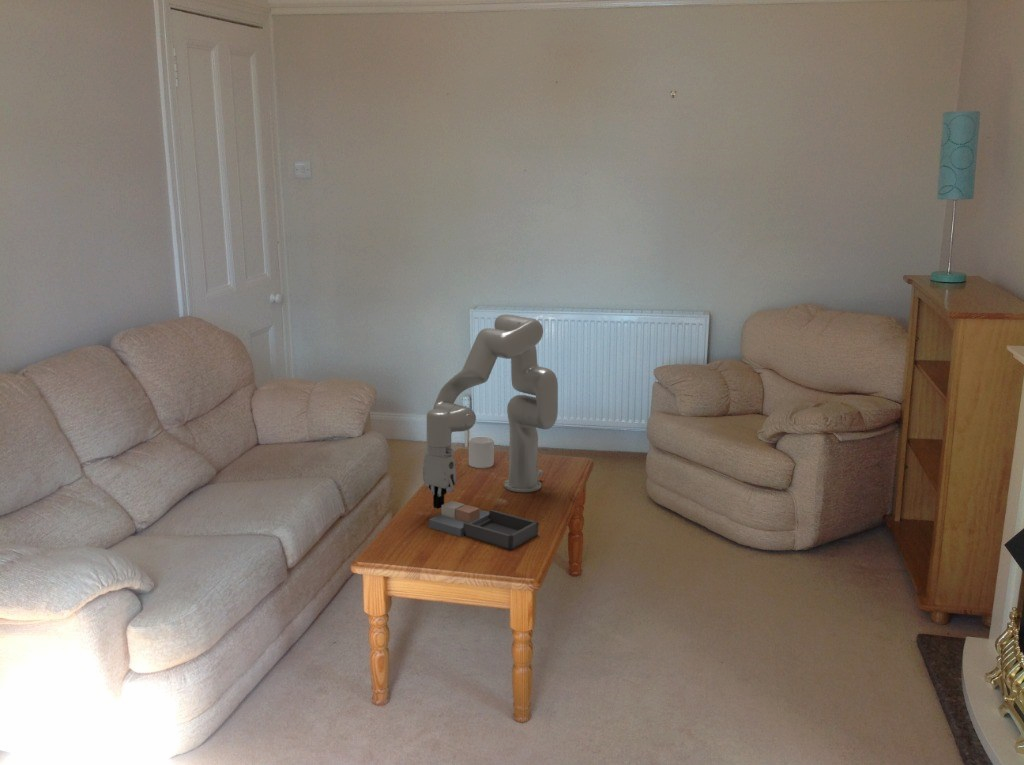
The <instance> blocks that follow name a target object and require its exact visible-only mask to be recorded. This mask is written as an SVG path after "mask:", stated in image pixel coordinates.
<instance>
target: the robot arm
mask: <svg viewBox="0 0 1024 765" xmlns="http://www.w3.org/2000/svg"><path fill="white" fill-rule="evenodd" d="M493 326H494V328H490V327H488V328H482V329H481V330H480V331H478V333H477V335H476V337H475V339H474V342H473V345H472V347H471V349H470V351H469V354H468V356H467V357H466V360H465V362H464V366H463V367H462V369H461V370H460V371H459V372H457V374H455V375H454V376H453V377H451V378H450V379H449V380H448V381H447V382H446V383H445V384H444V385H443V386H442V388H441V389H440V390H439V393H438V394H437V398H436V400H435V401H434V405H433V408H432V409H430V410H428V412H427V414H426V452H424V457H423V462H422V463H423V467H422V481H423V482H424V483H423V485H424V486H425V487H427V488H429V490H430V492H431V495H432V496H433V498H432V499H433V500H432V501H433V508H434V509H437V510H439V509H441V507H442V505H443V504H445V495H447V493H452V492H454V486H455V485H457V467H456V461H455V456H454V451H455V450H454V449H453V448H452V434H453V433H456V432H457V433H459V432H466V431H468V430H470V429H471V428H473V427H474V426H475V424H476V421H477V416H476V413H475V412H474V410H473V409H472V408H469V407H467V406H465V405H464V406H463V405H459V404H457V403H455V402H456V401H457V398H458V397H459V396H460V395H461V394H463V392H464V391H466V390H468V389H470V388H474V387H477V386H479V385H482V384H485V383H486V382H487V381H488V380H489V378H490V375H491V373H492V370H493V369H494V366H495V364H496V361H497V359H498V358H502V359H506V360H507V359H510V368H511V369H510V370H511V371H510V373H511V375H510V376H511V385H512V388H513V389H514V390H516V392H520V393H522V394H517V395H514V396H513V397H512V398H510V400H509V402H508V403H507V408H506V410H507V411H506V413H507V418H508V425H509V427H508V428H509V448H508V449H509V450H508V451H509V453H508V454H509V455H508V479H506V480H504V483H503V487H504V488H505V490H508V491H510V492H515V493H533V492H536V491H540V490H541V488H542V483H541V481H540V480H538V478H539V477H540V476H543V474H544V471H543V469H538V450H539V449H538V448H539V434H538V430H537V429H540V430H549V429H551V428H553V426H555V424H556V422H557V418H558V412H559V410H558V409H559V408H558V407H559V403H558V402H559V398H558V397H559V385H558V384H559V383H558V382H559V381H558V377H557V375H556V374H555V372H554V371H553V370H552V369H550V368H548V367H543V366H539V365H538V357H537V356H538V353H537V352H538V350H537V346H536V345H538V344H539V342H540V341H541V340H542V339H543V338H542V337H543V335H544V327H543V325H542V323H541V322H540V321H539V320H537V319H535V318H532V317H525V316H520V315H516V314H515V315H514V314H508V313H507V314H501V315H498V316H497V317H496V318H495V320H494V324H493ZM526 394H527V395H526ZM534 396H535V397H534Z"/></svg>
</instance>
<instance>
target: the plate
mask: <svg viewBox="0 0 1024 765" xmlns="http://www.w3.org/2000/svg"><path fill="white" fill-rule="evenodd" d="M488 519H489V511H487V510H482V509H479V518H478V519H476V520H474V521H472V522H467V523H470V524H474V525H477V524H479V523H481V522H484V521H486V520H488ZM465 522H466V521H462V520H459V519H456V518H452V517H448V516H445V515H441V513H440V514H437V515H436V516H433V517H430V518H429V519H428V528H429V529H433V530H436V531H441V532H443V533H447V534H450V535H453V536H456V537H464V536H463V523H465Z"/></svg>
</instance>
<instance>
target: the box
mask: <svg viewBox="0 0 1024 765" xmlns="http://www.w3.org/2000/svg"><path fill="white" fill-rule="evenodd" d="M488 512H489V519H488V520H486V521H484V522H481V523H479V524H477V525H474V524H470V523H467V522H465V523H463V536H462V537H465V538H469V539H472V540H476V541H478V542H482V543H486V544H489V545H493V546H495V547H499V548H502V549H505V550H510V551H512V550H513V549H516V548H518V547H519V546H521V545H523V544H524V543H526V542H528V541H530V540H532V539H533V538H536V537H537V536H539V521H536V520H531V519H527V518H524V517H520V516H517V515H512V514H509V513H505V512H502V511H498V510H494V509H489V511H488Z"/></svg>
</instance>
